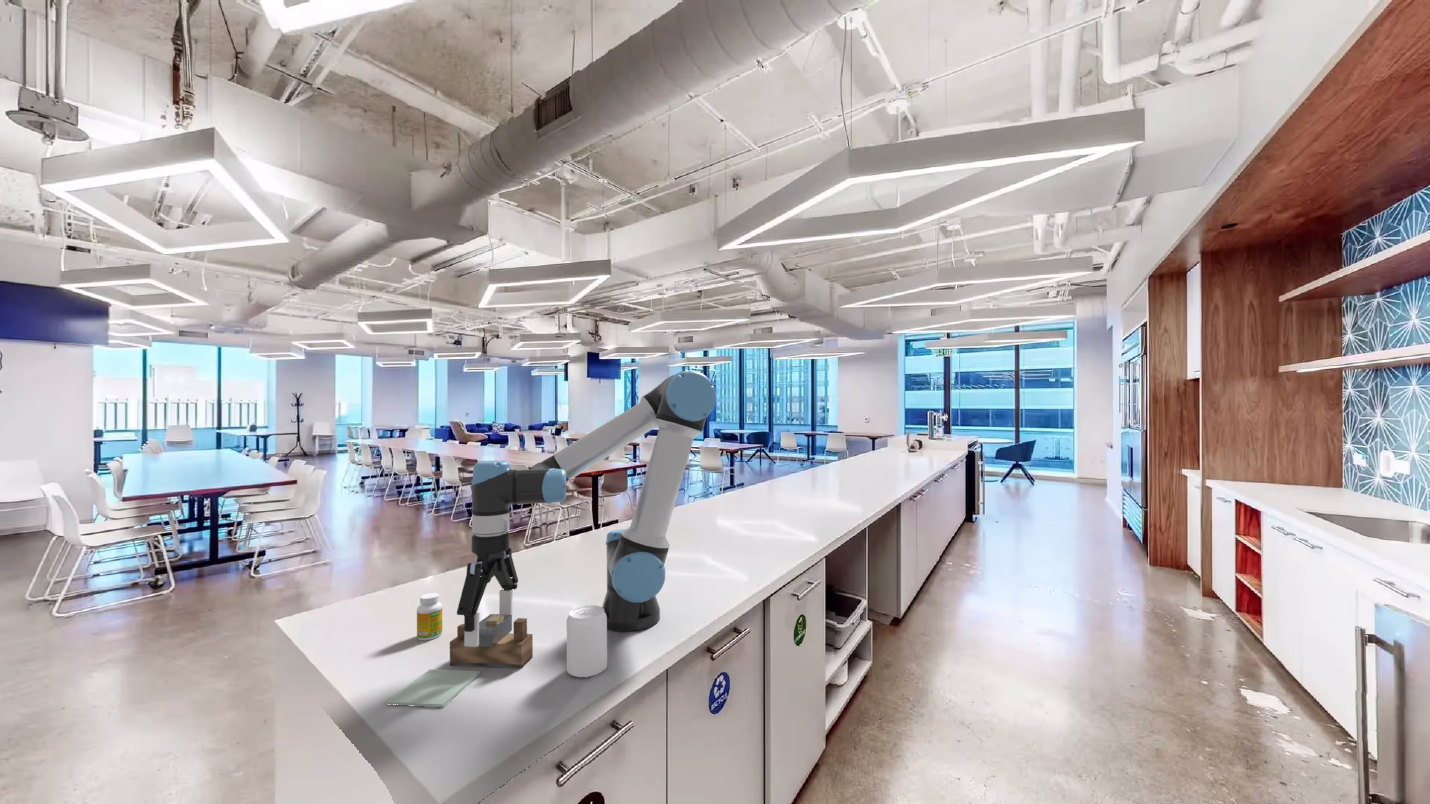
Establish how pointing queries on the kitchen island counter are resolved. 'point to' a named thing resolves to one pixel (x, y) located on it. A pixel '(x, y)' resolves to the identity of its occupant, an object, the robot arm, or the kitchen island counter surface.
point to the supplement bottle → (429, 617)
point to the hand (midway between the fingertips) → (489, 631)
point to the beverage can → (586, 641)
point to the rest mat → (434, 688)
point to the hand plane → (494, 649)
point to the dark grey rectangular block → (494, 629)
